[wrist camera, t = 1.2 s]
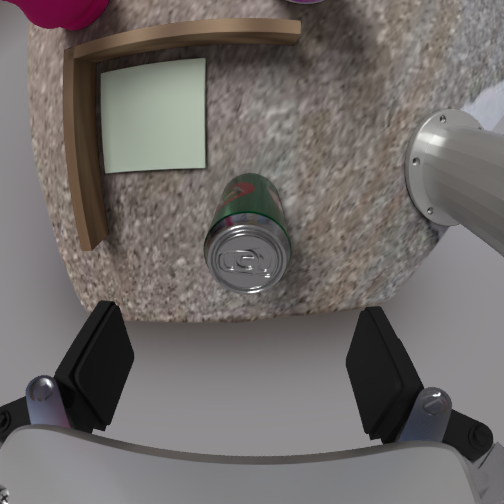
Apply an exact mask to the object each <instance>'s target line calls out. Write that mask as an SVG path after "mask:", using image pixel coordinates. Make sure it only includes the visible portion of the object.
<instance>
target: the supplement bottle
mask: <svg viewBox="0 0 504 504" xmlns="http://www.w3.org/2000/svg"><path fill="white" fill-rule="evenodd" d="M287 1H290V2H293V3H299V4H313V3H318V2H321V1H323V0H287Z"/></svg>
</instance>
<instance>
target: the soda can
mask: <svg viewBox="0 0 504 504" xmlns="http://www.w3.org/2000/svg"><path fill="white" fill-rule="evenodd" d="M204 258H205V261H206V264H207V266H208V268H209V270H210V272H211V274H212V276H213V278H214V279H215V280H216V281H217V282H218V283H219V284H220V285H221V286H222V287H224V288H225V289H227V290H229V291H232V292H234V293H238V294H246V295H248V294H257V293H261V292H264V291H266V290H268V289H270V288H271V287H273V286H274V285H275V284H276V283H277V282H278V281H279V280H280V278H281V277H282V275H283V273H284V272H285V271H286V269H287V267H288V265H289V262H290V259H291V243H290V239H289V235H288V231H287V227H286V223H285V219H284V215H283V212H282V208H281V204H280V200H279V197H278V193H277V190H276V188H275V187H274V185H273V184H272V183H271V182H270V181H269V180H268V179H267V178H265V177H263V176H261V175H258V174H252V173H248V174H242V175H239V176H237V177H235V178H234V179H232V180H231V181H230V182H229V183H228V184H227V186H226V187H225V189H224V192H223V194H222V197H221V199H220V202H219V204H218V207H217V210H216V212H215V215H214V217H213V220H212V223H211V225H210V228H209V231H208V233H207V236H206V239H205V242H204Z"/></svg>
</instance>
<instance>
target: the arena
mask: <svg viewBox="0 0 504 504" xmlns="http://www.w3.org/2000/svg"><path fill="white" fill-rule="evenodd" d="M300 35H301V21H297V20H285V19H266V18H227V19H208V20H196V21H186V22H178V23H170V24H164V25H157V26H152V27H146V28H141V29H136V30H131V31H127V32H123V33H118V34H114V35H110V36H107V37H103V38H99V39H96V40H93V41H89V42H86V43H83V44H80V45H77V46H74V47H71V48H68V49H66V50H64V62H63V125H64V141H65V152H66V162H67V171H68V179H69V186H70V193H71V199H72V205H73V210H74V216H75V221H76V226H77V231H78V235H79V240H80V244H81V249H82V251H92V250H93V249H94V248H95V247H96V246H97V245H98V244H99V243H100V242H101V241H102V240H103V239H104V238H105V237H106V236H107V235H108V234H109V232H108V226H107V220H106V214H105V208H104V201H103V193H102V186H101V177H100V168H99V158H98V145H97V129H96V97H95V85H96V63H97V62H101V61H105V60H109V59H113V58H118V57H122V56H127V55H132V54H137V53H143V52H149V51H155V50H162V49H169V48H178V47H187V46H199V45H214V44H277V45H292V46H294V45H295V43H296V41H297V40H298V38H299V36H300Z"/></svg>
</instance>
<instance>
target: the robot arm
mask: <svg viewBox="0 0 504 504" xmlns="http://www.w3.org/2000/svg"><path fill="white" fill-rule="evenodd" d="M413 159H414V161H413ZM405 177H406V184H407V188H408V191H409V194H410V197H411V199H412V201H413V203H414V205H415V206H416V207H417V209H418V210H419V211H420V212H421V213H422V214H423V215H424V216H425V217H427V218H428V219H429V220H431V221H432V222H434V223H436V224H439V225H442V226H454V225H459V224H462V225H463V226H464V227H466V228H467V229H469V230H470V231H471V232H473V233H474V234H475V235H477V236H478V237H480V238H481V239H482V240H483V241H484V242H486V243H487V244H488V245H490V246H491V247H492V248H494V249H495V250H496V251H497V252H499V254H501V255H502V256H503V257H504V135H503V134H499V133H495V132H491V131H487V130H484V128H483V127H482V126H481V124H480V123H479V122H478V121H477V120H476V119H475V118H474V117H472V116H471V115H470V114H468V113H466V112H464V111H460V110H456V109H443V110H438V111H436V112H433V113H431V114H429V115H428V116H427V117H426V118H425V119H423V120H422V121H421V123H420V124H419V125H418V126H417V128H416V129H415V131H414V133H413V135H412V137H411V139H410V142H409V145H408V148H407V153H406V159H405ZM133 361H134V352H133V349H132V346H131V343H130V340H129V337H128V334H127V331H126V327H125V325H124V321H123V318H122V314H121V311H120V308H119V306H118V305H116V304H115V302H113V301H103V300H101V301H100V302H99V303H98V304H97V306H96V307H95V309H94V310H93V312H92V313H91V315H90V316H89V318H88V319H87V321H86V322H85V324H84V326H83V327H82V329H81V330H80V332H79V334H78V335H77V337H76V338H75V340H74V341H73V343H72V345H71V347H70V348H69V350H68V351H67V353H66V355H65V357H64V358H63V360H62V362H61V364H60V365H59V367H58V369H57V370H56V372H55V375H54V377H53V378H52V377H51V376H48V375H41V376H38V377H36V378H34V379H33V380H31V381H30V383H29V384H28V386H27V388H26V396H25V397H23V398H20V399H18V400H16V401H13V402H11V403H8V404H6V405H3V406H1V407H0V504H504V447H503V446H502V445H500V443H498V442H497V443H495V444H494V443H493V434H492V432H491V430H490V429H489V428H488V426H486V425H485V424H483V423H481V422H479V421H476V420H474V419H472V418H470V417H468V416H466V415H463V414H461V413H459V412H457V411H455V410H453V409H452V402H451V399H450V397H449V395H448V394H447V393H446V392H445V391H443V390H442V389H440V388H436V387H428V388H425V389H424V386H423V384H422V382H421V380H420V378H419V376H418V374H417V372H416V369H415V368H414V366H413V363H412V361H411V359H410V357H409V355H408V353H407V352H406V349H405V348H404V346H403V344H402V342H401V340H400V339H399V338H397V336H396V334H395V332H394V330H393V328H392V326H391V324H390V322H389V321H388V319H387V317H386V315H385V313H384V311H383V310H382V308H381V307H380V306H375V307H366V308H365V310H364V311H361V313H360V315H359V319H358V322H357V325H356V329H355V332H354V336H353V339H352V342H351V345H350V348H349V351H348V354H347V357H346V368H347V371H348V374H349V378H350V381H351V385H352V388H353V392H354V395H355V399H356V402H357V406H358V409H359V413H360V417H361V421H362V424H363V428H364V432H365V433H366V434H369V436H370V440H374V439H380V438H381V441H382V443H383V445H377V446H371V447H365V448H359V449H352V450H345V451H337V452H328V453H319V454H307V455H294V456H293V455H292V456H258V457H257V456H224V455H209V454H198V453H189V452H180V451H172V450H166V449H159V448H153V447H147V446H142V445H136V444H132V443H127V442H123V441H118V440H114V439H109V438H105V437H101V436H97V435H94V434H92V431H93V428H94V429H98V430H101V431H105V429H106V426H107V425H110V424H111V421H112V418H113V415H114V412H115V409H116V407H117V404H118V401H119V399H120V396H121V393H122V390H123V388H124V385H125V382H126V380H127V377H128V374H129V372H130V369H131V366H132V364H133Z"/></svg>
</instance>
